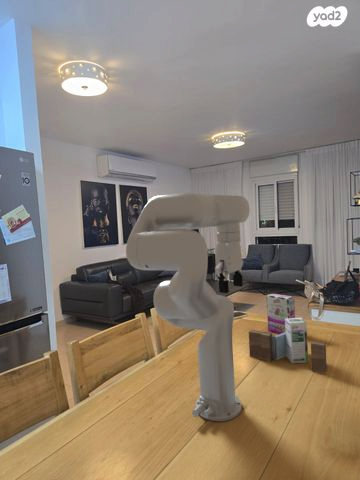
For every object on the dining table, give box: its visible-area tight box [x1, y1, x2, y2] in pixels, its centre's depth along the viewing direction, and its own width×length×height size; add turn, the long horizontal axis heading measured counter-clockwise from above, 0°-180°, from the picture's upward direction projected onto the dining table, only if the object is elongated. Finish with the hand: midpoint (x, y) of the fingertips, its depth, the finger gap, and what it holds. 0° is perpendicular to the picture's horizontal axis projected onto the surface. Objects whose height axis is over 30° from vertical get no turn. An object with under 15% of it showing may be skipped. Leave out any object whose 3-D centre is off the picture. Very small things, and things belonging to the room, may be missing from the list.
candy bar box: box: [266, 292, 296, 335], centre depth 137 cm, size 11×5×16 cm, turn 37°
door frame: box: [248, 329, 328, 375], centre depth 109 cm, size 3×26×10 cm, turn 53°
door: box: [272, 332, 287, 361], centre depth 115 cm, size 2×13×9 cm, turn 123°
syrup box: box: [285, 317, 309, 364], centre depth 111 cm, size 6×6×14 cm
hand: (231, 289), depth 104 cm, fingers open, 9 cm apart
